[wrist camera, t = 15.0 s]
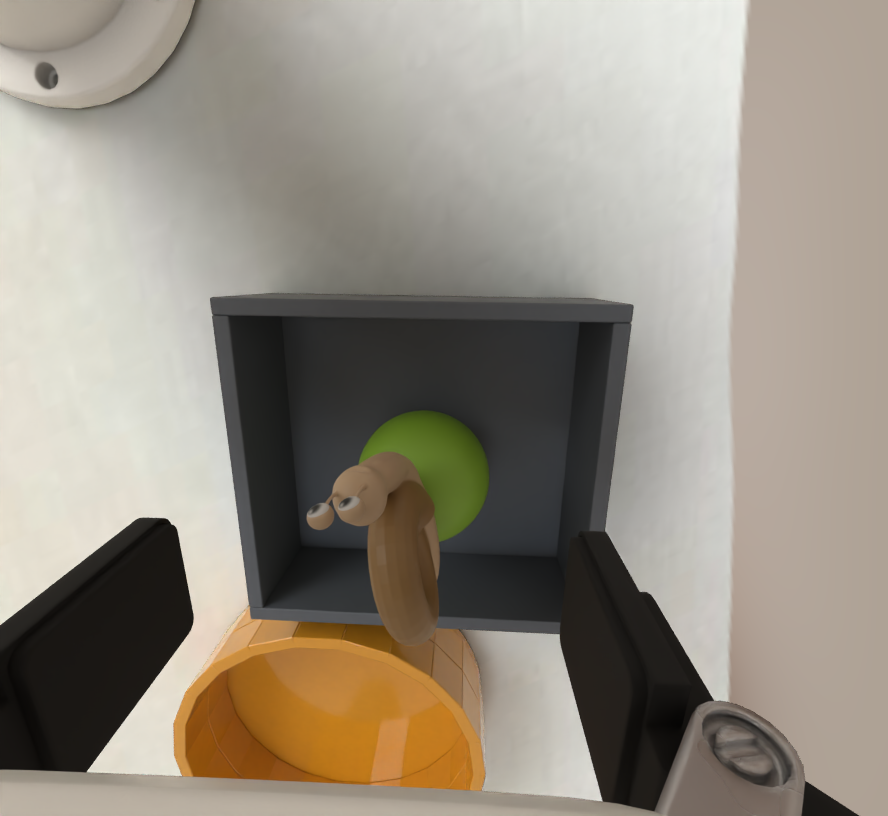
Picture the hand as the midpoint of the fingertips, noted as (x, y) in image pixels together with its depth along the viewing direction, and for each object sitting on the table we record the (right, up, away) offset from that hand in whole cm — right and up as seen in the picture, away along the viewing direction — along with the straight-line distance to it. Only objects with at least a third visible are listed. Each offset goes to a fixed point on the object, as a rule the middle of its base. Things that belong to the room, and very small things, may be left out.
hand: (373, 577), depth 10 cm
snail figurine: (+1, +2, +11) cm, 11 cm away
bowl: (-4, -12, +15) cm, 20 cm away
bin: (+1, +3, +11) cm, 11 cm away
